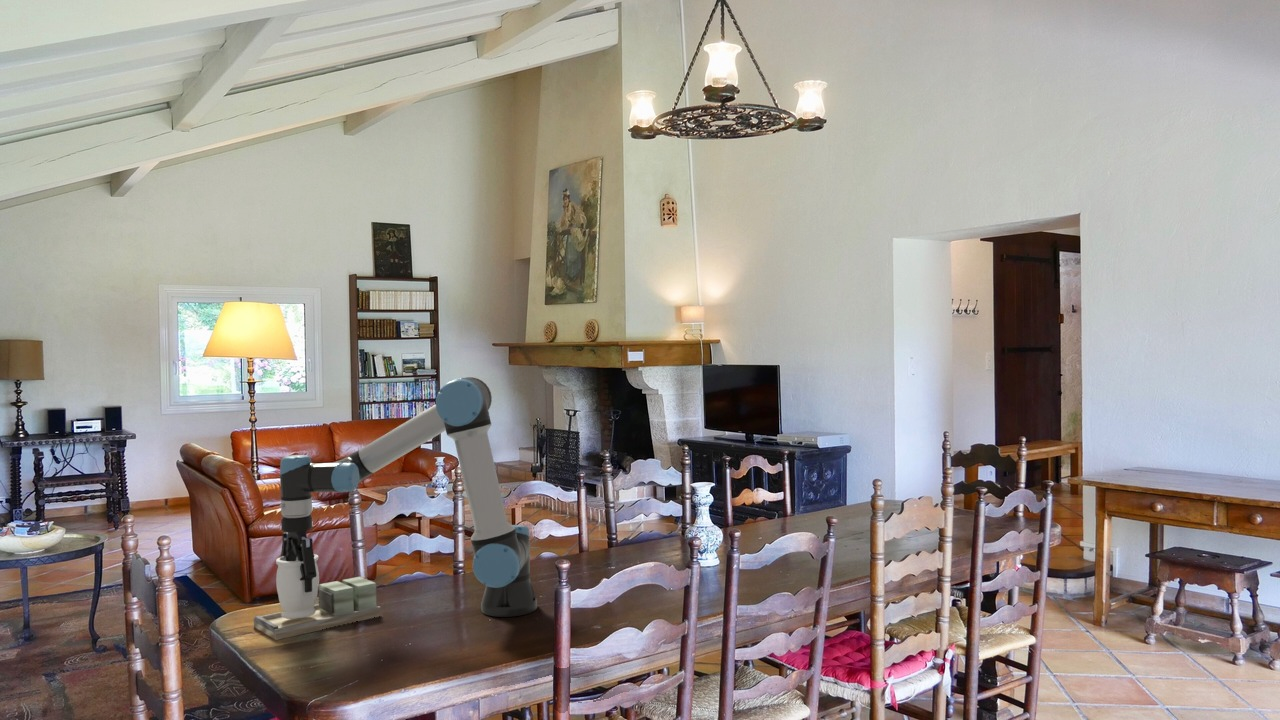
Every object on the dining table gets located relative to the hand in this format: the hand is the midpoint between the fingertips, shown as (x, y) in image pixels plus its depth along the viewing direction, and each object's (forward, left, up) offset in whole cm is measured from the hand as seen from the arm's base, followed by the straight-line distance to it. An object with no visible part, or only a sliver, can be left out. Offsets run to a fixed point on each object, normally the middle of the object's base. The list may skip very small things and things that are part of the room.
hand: (298, 600), depth 237 cm
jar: (0, 0, -4) cm, 4 cm away
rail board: (0, -5, -7) cm, 8 cm away
